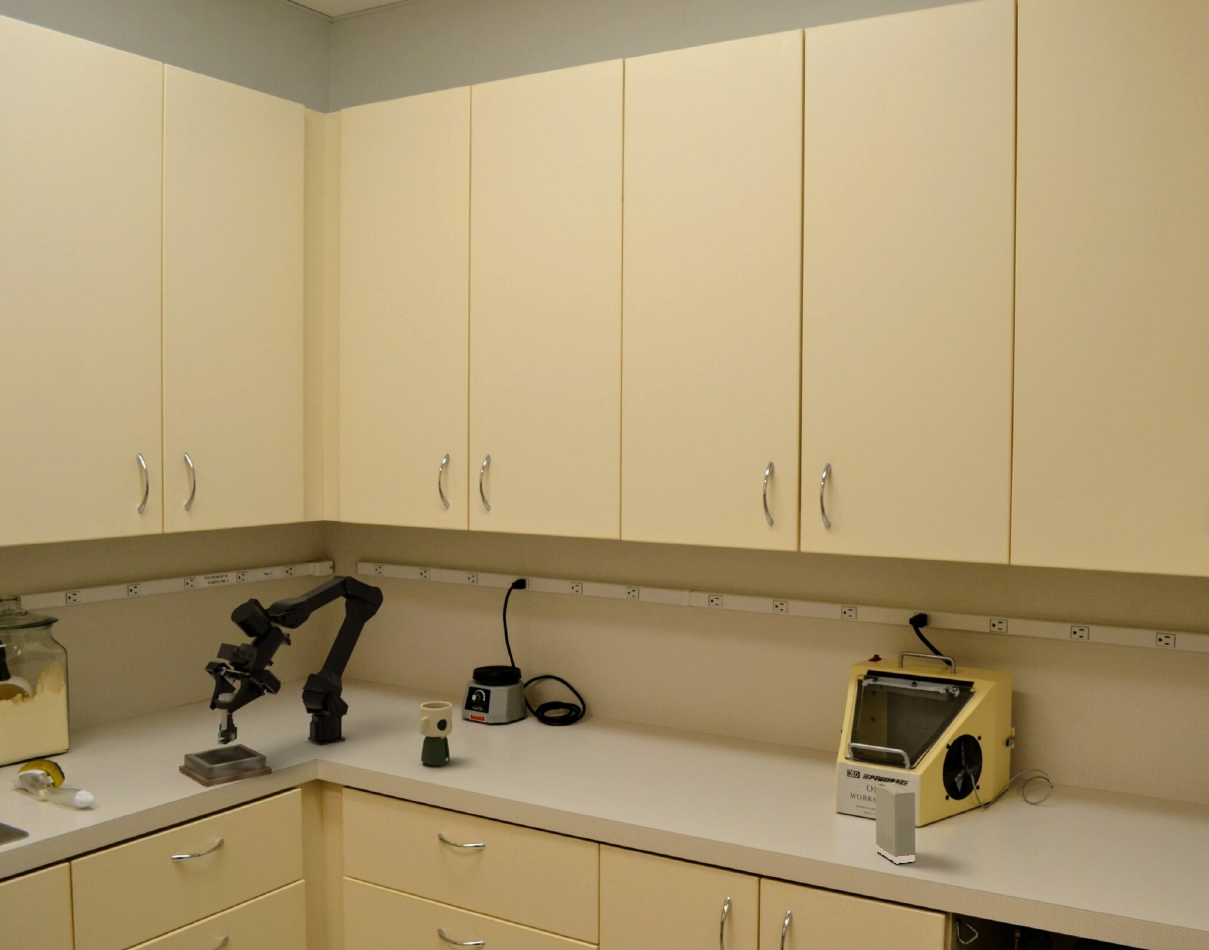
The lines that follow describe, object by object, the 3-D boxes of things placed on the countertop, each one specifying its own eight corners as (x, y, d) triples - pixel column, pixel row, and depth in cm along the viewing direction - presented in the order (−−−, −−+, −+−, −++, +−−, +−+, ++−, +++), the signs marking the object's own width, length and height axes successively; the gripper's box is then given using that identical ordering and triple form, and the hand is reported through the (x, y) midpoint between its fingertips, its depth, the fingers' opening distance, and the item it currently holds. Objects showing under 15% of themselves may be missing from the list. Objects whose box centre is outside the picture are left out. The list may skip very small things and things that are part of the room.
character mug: (434, 772, 220) (434, 712, 220) (407, 767, 223) (407, 708, 223) (462, 759, 230) (463, 701, 230) (436, 755, 233) (437, 697, 233)
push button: (230, 747, 215) (231, 700, 214) (205, 746, 215) (207, 698, 215) (244, 738, 221) (245, 692, 221) (220, 737, 222) (221, 691, 222)
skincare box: (916, 862, 175) (918, 792, 175) (894, 865, 173) (895, 794, 173) (894, 849, 181) (896, 781, 180) (873, 852, 179) (874, 783, 179)
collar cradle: (242, 758, 228) (242, 742, 228) (271, 772, 218) (271, 756, 218) (179, 770, 218) (179, 754, 218) (206, 786, 208) (206, 769, 208)
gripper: (211, 624, 226) (167, 683, 217) (270, 632, 216) (226, 695, 207) (241, 653, 233) (199, 712, 224) (299, 663, 223) (258, 725, 214)
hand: (219, 710), depth 217 cm, fingers closed on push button, 5 cm apart
